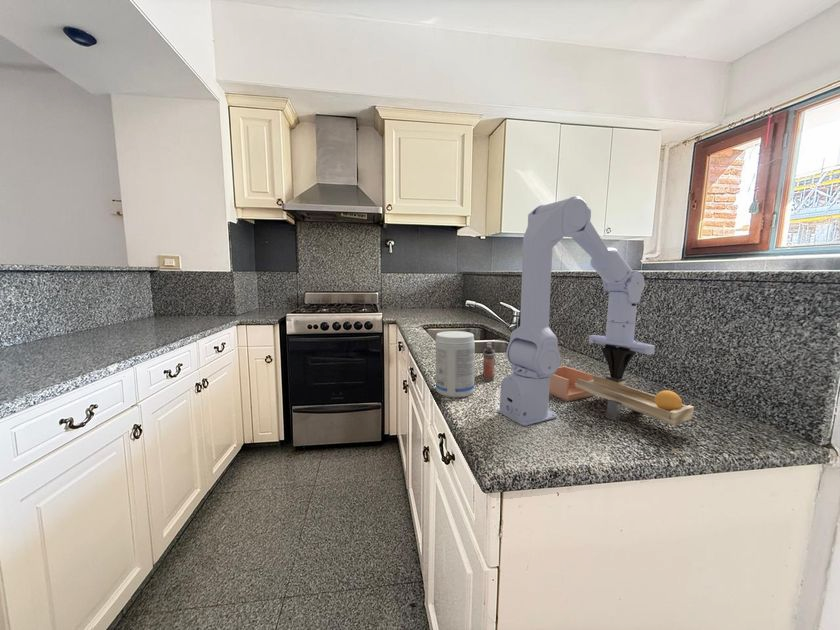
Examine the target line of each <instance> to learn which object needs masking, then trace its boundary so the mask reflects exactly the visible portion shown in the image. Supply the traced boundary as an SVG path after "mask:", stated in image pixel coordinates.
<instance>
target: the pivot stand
mask: <svg viewBox="0 0 840 630" xmlns="http://www.w3.org/2000/svg"><path fill="white" fill-rule="evenodd" d="M606 407H607V409H606V418H607V419H609V420H611V421H614V422H618V421H621V410H622V409H621V408H622V405H621V403H620V402H617V401H614V400H607V405H606ZM631 411H633V412H635V413H638V414H641V415H642V414H643V413H640V412H638V411H635V410H633V409H631ZM643 415H644V414H643Z"/></svg>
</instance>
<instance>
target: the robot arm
mask: <svg viewBox="0 0 840 630" xmlns="http://www.w3.org/2000/svg"><path fill="white" fill-rule="evenodd" d="M591 218H592V211H591V208H590V207H588V205H587V203H586V201H585V199H584V198H582V197H581V196H577V195H575V196H571V197H569V198H566V199H563V200H559V201H555V202H551V203H547V204H541V205H538V206H537V207H535V208H534V209H533V210H532V211H530V212H529V213H528V214H527V227H526V230H525V232H524V235H523V238H522V258H521V259H522V261H521V262H522V263H521V290H520V322H519V326H518V327H517V328H515V329H514V330H512V331H511V333H510V336H509V338H510V339H509V342H508V345H507V347H506V354H505V355H506V358H507V359H506V360H507V361H508V363H509V364H511V368H510V369H511V370H512V372H511V374H509V375H508V376H505V377H504V378H503V379H502V380H501V384H500V394H499V395H500V396H499V397H500V398H499V408H497V409H496V411H497V412H498V413H500V414H501V415H503V416H505V417H506V418H509V419H510V420H511V421H513V422H515V423H517V424H519V425H520V426H524V427H525V426H528V425H533V424H538V423H540V422H545V421H548V420H553V419H556V418H558V417H559V416H558V414H557V413H554V412H553V411H550V410H549V403H550V394H549V386H550V377H551V376H553V374H554V373H555V372H556V371H557V369H558V367H560V364H561V353H560V350H559V346H558V342H559V340H558V339H559V338H558V337H557V336H556V334H555V332H553V331H552V329H551V328H550V308H551V289H552V288H551V287H552V284H551V283H552V263H553V248H554V247H555V246H556V245H558V243H559V242H560V241H561V240H563V238H571V239H572V240H573V241H575V243H577V244H578V245H579V246H580V247H581V248H582V249H583V250H584V251H585V252H586V253H587V254H588V255H589V257H591V260H590V266H591V267H592V268H593V270H594V271H595V272H596V273H597V274H598V276H600V278H601V281H602V283H603V285H602V286H603V290H604V292H606V293H607V294H608V302H607V303H608V304H607V312H606V315H607V316H606V326H605V327H606V329H605V335H598V334H590V335H588V343H589V344H597V345H602V346H604V347H601V352H602V354H603V356H604V358H605V361H606V363H607V366H608V369H609V370H608V371H609V374H610V376H611V377H613V378H616V379H619V378H622V377H624V374H625V371H626V369H627V367H628V365H629V363H630V362H631V360H632V358H633V357H634V356H635V355H636V353H642V354H643V355H644V354H645V355H649V356H650V355H655V349H656V345H655V344H654V345H653V344H650V343H645V342H641V341H638V340H635V331H636V320H637V319H636V318H637V309H638V308H637V307H638V306H637V305H638V303H640V301H641V296H642V294H643V292H644V290H645V287H646V282H645V278H644V275H643V273H642V272H639V271H638V270H635V269H634V270H633V269H632V268H631V267H630V265H629V264H628V263H627V261H626V260H625V258H623V257H622V255H621V253H620V252H619V250H618V249H617V248H614V247H608V246H607V245H606V244H605V242H604V241H603V239H602V237H601V236H600V234H599V233H598V231H597V230H596V228H595V227H594V224H593V223H592V222H591Z"/></svg>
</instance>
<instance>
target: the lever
mask: <svg viewBox="0 0 840 630" xmlns="http://www.w3.org/2000/svg"><path fill="white" fill-rule="evenodd" d="M626 383H627V378H626V377H624V376H623V377H622V378H619V379H616V378H613V377H611V376H610V375H606V376H605V378H604V377H601V376H598V375H595V374H594V378H593V380H590V381H584V380H581V379H577V383H575V387H577V388H579V389H582V390H585V391H587V392H590V393H592V394H595V395H594V396H598V397H600V398H603V399H606V400H607V401H608V400H614V401H617V402H620V403H621V406H623V407H625V408H629V409H631V410H632V409H633V410H635V411H638V412H640V413H643V415H645V416H648V417H650V418H653V419H656V420H658V421H661V422H663V423H666V424H668V425H672V426H675V425H678V424H681V423H684V422H687V421H689V420H692V419H694V418H693V417H694V411H695V407H694V406H693V405H689V404H687V405H685V404H682V406H681V408H678V409H675V410H672V411H667V410H664V409H661V408H659V407H657V405H656V403H655V396H656V395H657V394H656V395H655V394H654V393H653V394H652V393H649V392H646V391H643V390H640V389H638V388H634V387H631V386H629V385H626ZM635 411H634V412H635ZM640 413H639V414H640Z"/></svg>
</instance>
